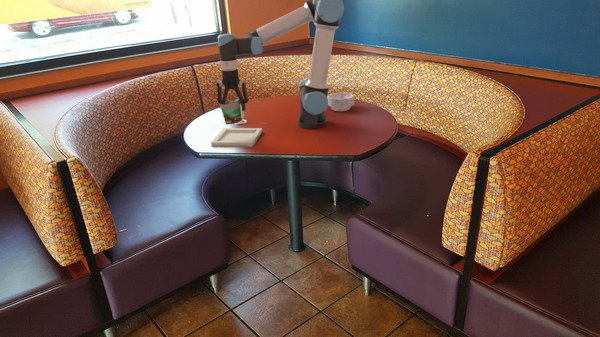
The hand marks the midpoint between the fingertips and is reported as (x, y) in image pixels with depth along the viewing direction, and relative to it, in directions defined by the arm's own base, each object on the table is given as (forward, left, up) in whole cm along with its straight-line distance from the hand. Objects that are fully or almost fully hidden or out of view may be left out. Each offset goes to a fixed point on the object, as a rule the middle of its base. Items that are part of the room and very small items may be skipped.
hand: (234, 117), depth 215 cm
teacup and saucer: (+8, -24, -12) cm, 28 cm away
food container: (-1, 0, -2) cm, 2 cm away
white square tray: (0, 0, -11) cm, 11 cm away
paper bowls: (-47, -48, -11) cm, 68 cm away
